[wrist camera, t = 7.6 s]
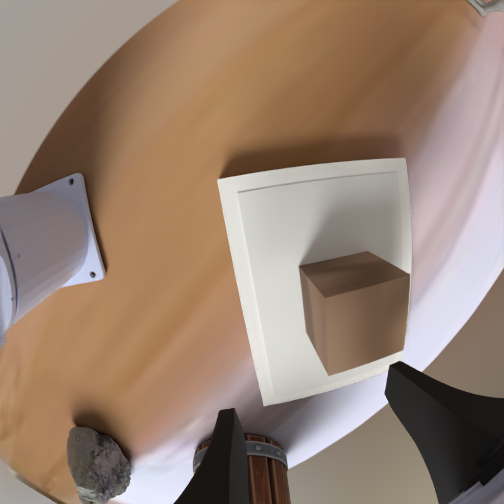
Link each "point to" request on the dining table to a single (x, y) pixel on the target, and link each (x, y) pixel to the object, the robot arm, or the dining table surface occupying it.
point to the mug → (261, 470)
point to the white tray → (308, 257)
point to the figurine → (488, 6)
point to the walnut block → (354, 309)
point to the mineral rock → (96, 466)
